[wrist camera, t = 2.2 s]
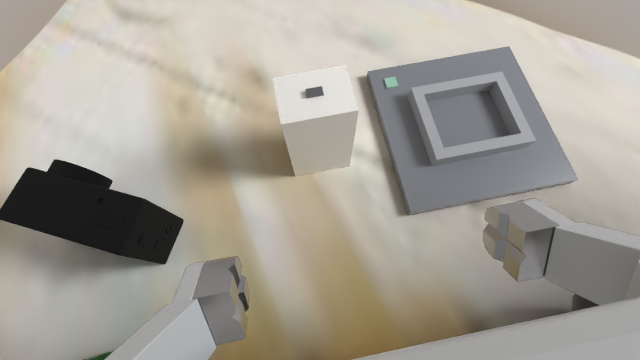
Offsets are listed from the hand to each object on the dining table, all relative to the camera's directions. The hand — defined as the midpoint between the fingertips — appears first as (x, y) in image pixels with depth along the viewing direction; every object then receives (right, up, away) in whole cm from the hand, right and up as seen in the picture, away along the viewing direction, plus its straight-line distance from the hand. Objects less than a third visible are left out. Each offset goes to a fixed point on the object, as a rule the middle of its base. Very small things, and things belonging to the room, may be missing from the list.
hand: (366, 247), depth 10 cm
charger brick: (-2, +5, +22) cm, 22 cm away
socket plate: (+13, +8, +22) cm, 27 cm away
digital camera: (-20, -2, +20) cm, 28 cm away
